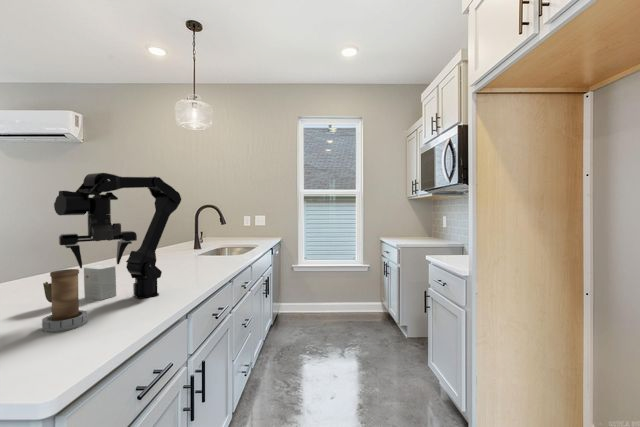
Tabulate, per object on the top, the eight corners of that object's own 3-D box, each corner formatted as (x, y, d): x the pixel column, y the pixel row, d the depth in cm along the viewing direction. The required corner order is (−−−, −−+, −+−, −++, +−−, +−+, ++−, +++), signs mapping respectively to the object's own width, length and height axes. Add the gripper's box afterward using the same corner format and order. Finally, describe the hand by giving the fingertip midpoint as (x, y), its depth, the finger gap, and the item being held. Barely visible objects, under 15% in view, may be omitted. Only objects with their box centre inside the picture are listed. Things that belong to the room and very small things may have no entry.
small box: (116, 296, 108) (116, 265, 108) (100, 300, 103) (100, 268, 103) (100, 293, 111) (99, 264, 111) (83, 298, 106) (83, 267, 105)
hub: (84, 316, 88) (84, 308, 87) (89, 325, 81) (89, 316, 81) (41, 325, 81) (41, 315, 81) (43, 335, 75) (42, 325, 75)
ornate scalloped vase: (56, 311, 92) (56, 284, 92) (37, 309, 94) (36, 283, 93) (80, 303, 99) (80, 278, 99) (62, 302, 101) (61, 277, 101)
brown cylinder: (82, 316, 85) (81, 268, 85) (77, 323, 80) (76, 272, 80) (54, 319, 82) (54, 270, 82) (47, 327, 77) (46, 274, 77)
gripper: (61, 215, 82) (62, 274, 82) (141, 214, 94) (141, 265, 95) (58, 215, 90) (59, 268, 90) (132, 214, 103) (132, 261, 103)
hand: (100, 266), depth 94 cm, fingers open, 9 cm apart
